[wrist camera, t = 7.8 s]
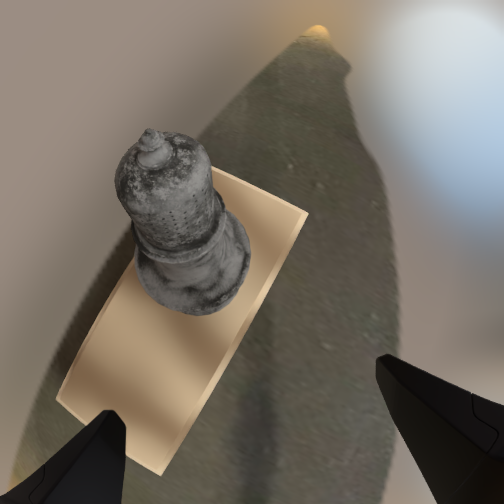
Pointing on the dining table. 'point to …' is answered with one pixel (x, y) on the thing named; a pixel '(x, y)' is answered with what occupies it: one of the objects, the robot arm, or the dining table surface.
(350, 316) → the dining table surface
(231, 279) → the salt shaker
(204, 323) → the tan wooden block
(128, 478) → the dining table surface
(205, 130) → the dining table surface
